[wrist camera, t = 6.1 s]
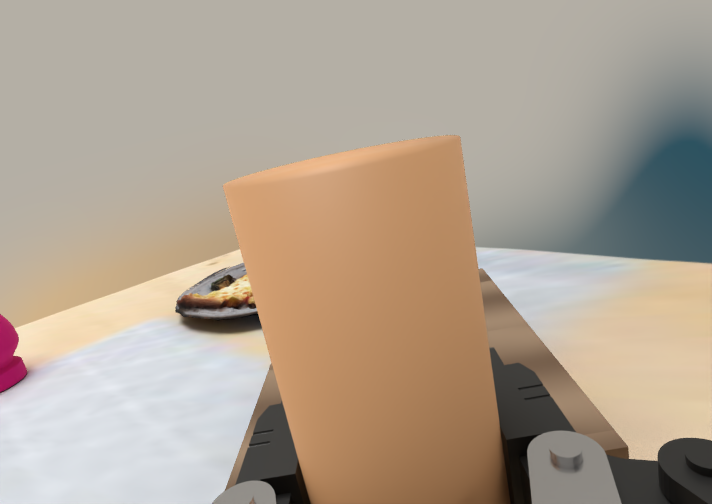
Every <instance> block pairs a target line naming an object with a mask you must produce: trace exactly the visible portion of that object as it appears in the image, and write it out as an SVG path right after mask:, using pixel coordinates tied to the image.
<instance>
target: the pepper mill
mask: <svg viewBox="0 0 712 504" xmlns="http://www.w3.org/2000/svg"><path fill="white" fill-rule="evenodd" d="M18 341H19V337H18V334H17V332H16V331H15V329H14V327H13V326H12V325H11V323H10V322H9V321H8V320H7V319H6V318H4V317H3V316H2V315H1V314H0V392H2V391H4V390H6V389H8V388H10V387H12V386H13V385H15V384H16V383H18V382H19V381H20V380H22V379H23V378H24V377H25V375H26V374H27V370H26V367H25V365H24V363H23V360H22V358H21V357H18V356H13V354H14V352H15V350H16V347H17V345H18Z"/></svg>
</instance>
